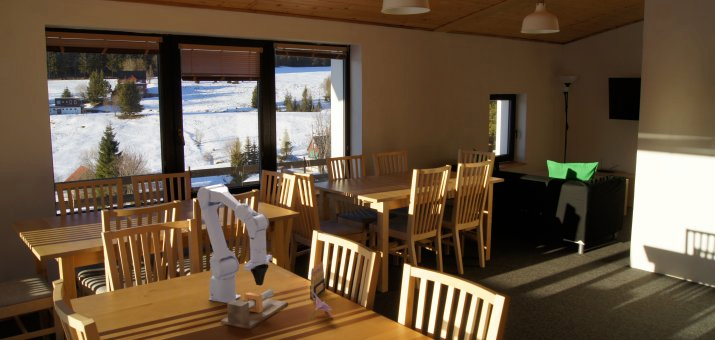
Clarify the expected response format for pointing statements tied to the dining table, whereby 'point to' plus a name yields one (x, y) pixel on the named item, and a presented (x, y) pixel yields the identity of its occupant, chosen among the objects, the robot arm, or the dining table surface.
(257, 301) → the collar
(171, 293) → the dining table surface
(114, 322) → the dining table surface
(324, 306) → the lily
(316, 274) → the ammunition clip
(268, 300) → the pipe board
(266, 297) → the pipe
